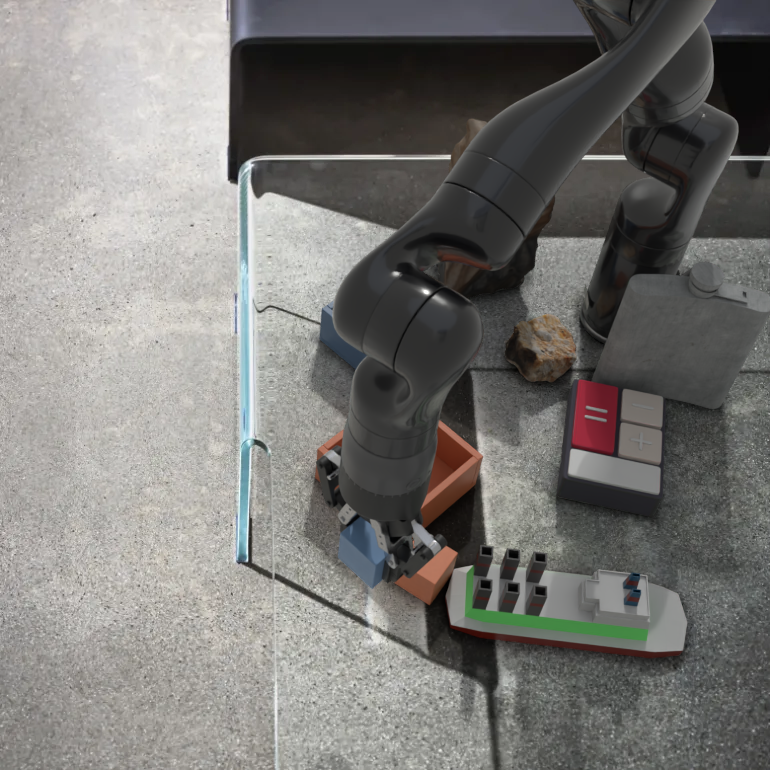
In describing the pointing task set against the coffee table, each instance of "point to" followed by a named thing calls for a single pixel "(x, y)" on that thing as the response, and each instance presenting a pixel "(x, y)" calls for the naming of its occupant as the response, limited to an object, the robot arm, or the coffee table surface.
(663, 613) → the toy boat
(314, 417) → the coffee table surface
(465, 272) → the tall brown boulder
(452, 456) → the terracotta bin
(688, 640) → the coffee table surface
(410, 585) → the terracotta block
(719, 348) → the hip flask
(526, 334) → the rock
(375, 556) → the blue block
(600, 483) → the calculator
